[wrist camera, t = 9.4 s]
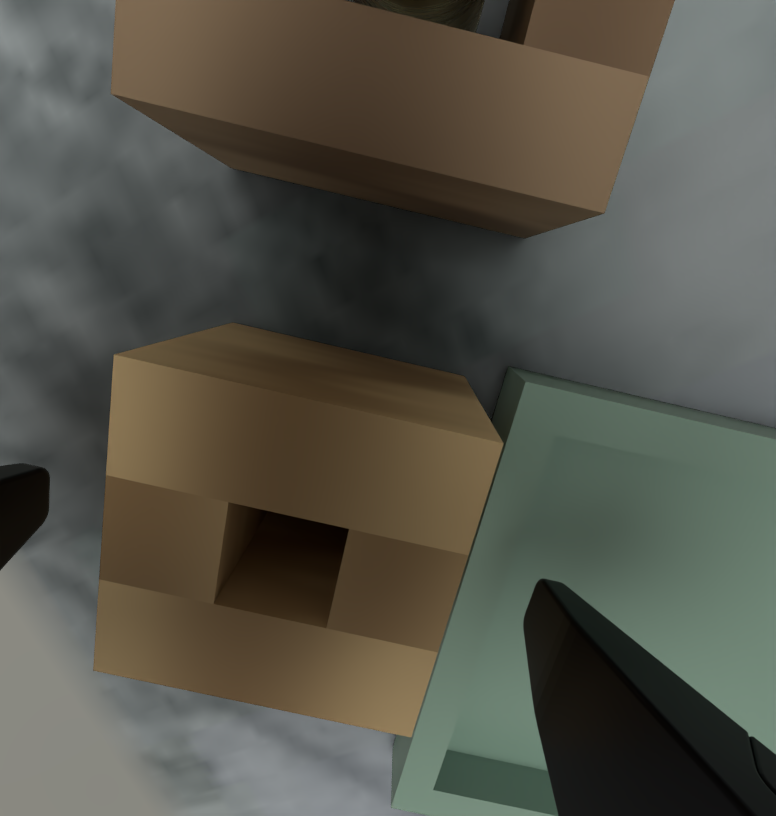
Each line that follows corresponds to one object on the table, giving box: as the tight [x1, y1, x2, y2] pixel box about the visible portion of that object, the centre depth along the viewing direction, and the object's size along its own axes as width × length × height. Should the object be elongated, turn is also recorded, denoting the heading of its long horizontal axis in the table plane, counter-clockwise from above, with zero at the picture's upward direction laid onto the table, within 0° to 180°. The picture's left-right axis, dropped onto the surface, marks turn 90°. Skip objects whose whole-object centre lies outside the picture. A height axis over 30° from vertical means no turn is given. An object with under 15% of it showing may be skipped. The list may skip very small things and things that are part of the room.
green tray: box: [391, 366, 776, 816], centre depth 13 cm, size 14×13×2 cm
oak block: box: [93, 323, 504, 737], centre depth 10 cm, size 6×6×5 cm
